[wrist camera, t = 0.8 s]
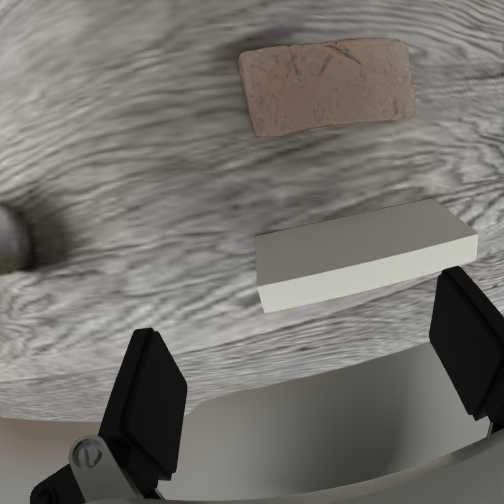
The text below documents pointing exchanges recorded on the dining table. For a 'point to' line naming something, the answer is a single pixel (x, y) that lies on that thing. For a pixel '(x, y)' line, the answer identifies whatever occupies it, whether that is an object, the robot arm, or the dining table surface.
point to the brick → (326, 84)
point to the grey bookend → (359, 253)
